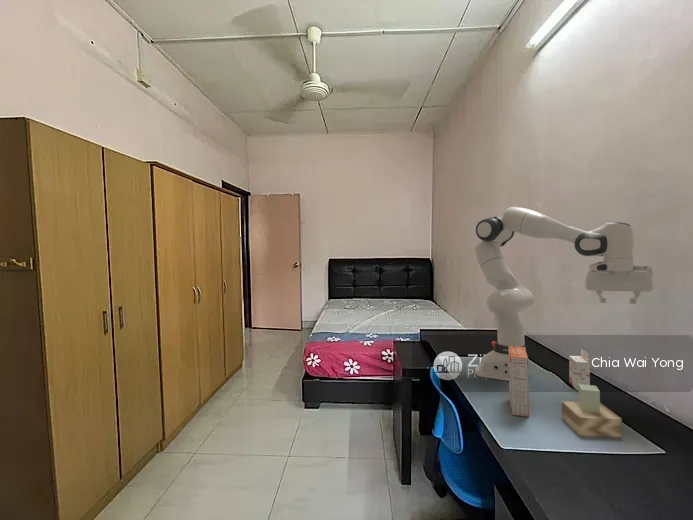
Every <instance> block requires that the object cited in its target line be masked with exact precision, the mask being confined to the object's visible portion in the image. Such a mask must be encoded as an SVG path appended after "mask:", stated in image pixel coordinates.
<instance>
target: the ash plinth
mask: <svg viewBox="0 0 693 520" xmlns="http://www.w3.org/2000/svg"><path fill="white" fill-rule="evenodd" d="M561 418H562V420H563V421H564V422H565V423H566V424H568V426H569V427H570V428H571V429H572V430H573V431H574V432H576V434H577V435H578V436H579V437H600V436H611V437H610V438H622V436H623V435H622V434H623V431H622V430H623V428H622V427H623V426H622V424H623V422H622V421H623V420H622V419H623V418H622V417H620V416H618V415H617V414H616V413H615V412H613V411H612V410H611V409H610V408H608V407H607V406H605V405H604V404H603V403H602V402H600V413H593V412H585V411H581V409H580V407H579V405H578V401H569V400H567V401H566V400H565V401H561Z"/></svg>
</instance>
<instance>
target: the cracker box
mask: <svg viewBox="0 0 693 520" xmlns="http://www.w3.org/2000/svg"><path fill="white" fill-rule="evenodd" d="M525 347H526V346H525ZM525 347H516V346H509V381H508V387H509V392H508V393H509V406H510V412H511V415H512V416H518V417H525V418H528V417H530V409H529V408H530V407H529V405H530V403H529V401H530V400H529V376H528V375H529V357H528V353H527V350H526V351H525Z"/></svg>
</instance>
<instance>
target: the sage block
mask: <svg viewBox="0 0 693 520" xmlns="http://www.w3.org/2000/svg"><path fill="white" fill-rule="evenodd" d="M577 391H578V393H577V395H578V396H577V400H578V401H577V402H578V405H579V407H580V409H581V411H585V412H593V413H600V403H601V400H600V399H601V392H600V389H599V387H597V385H591V384H590V385H584V384H578V390H577Z"/></svg>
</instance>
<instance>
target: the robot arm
mask: <svg viewBox="0 0 693 520" xmlns="http://www.w3.org/2000/svg"><path fill="white" fill-rule="evenodd" d="M515 233H517V234H519V235H520V234H521V235H523V236H526V237H530V238H536V239H557V240H561V241H562V240H563V241H566V242H568V243H573V244H574V249H575V251H576V252H577V253H578V254H579V255H582V256H585V257H589V258H591V257H603V260H602V261H598V262H595V263H591V264H589V265H588V269H589V271H587V274H586V276H585V285H584V286H585V287H584V288H585V289H586V290H587V291H591V292H592V291H593V292H594V291H595V293H596V294H597V296H598V298H599V303H601V304H606V302H607V301H606V300H607V299H606V297H603V296H602V294H603V292H633V294H634V295H633V297H632V298H631V297H630V298H629V303H630V304H633V305H636V304H637V300H638V299H639V297H641V292H643V293H646V292H651V291H652V290H653V289H654V284H653V279H652V277H653V272H654V271H653V269H652V267H649V266H648V265H634V255H633V249H634V231H633V227H632V226H631V224H629V223H627V222H619V221H607V222H605V223H604V224H603V225H601V226H599V227H597V228H594V229H592V230H586V229H582V228H578V227H574V226H572V225H569V224H565V223H563V222H560V221H558V220H557V219H554V218H552V217H550V216H548V215H546V214H543V213H541V212H539V211H538V210H537V211H536V210H533V209H529V208H525V207H520V206H510V207H508V208H506V209H505V211H504V212H503V214H502V216H500V217H499V216H493V217H487V218H483V219H482V220H480V221H479V222H477V224H476V226H475V234H476V236H477V238H478V239H480V240H481V241H479V242H477V244H476V245H475V246H474V252H475V256H476V259H477V262H478V264H479V267H480V269H481V272H482V273H483V275H484V278H485V279H486V280H485V281H486V282H487V283H488V284H490V285H491V286H493V288H494V289H496V290H495V292H494V291H493V292H492V293H491V294H489V295H488V297H487V301H486V304H487V308H488V309H489V311H490V312H491V313H492V314H493V316H494V319H495V321H496V322H495V323H496V327H497V328H496V329H497V330H496V331H497V341H495V340H493V341H492V342H491V346H492V350H491V351H489V352H487V353H486V354H485V355H483V356H482V357H481V359H480V362H479V364H478V365H477V366H476V367H475V368H474V373H475V375H476V376H478V377H481V378H487V379H494V380H499V381H508V382H509V346H516V347H525V351H526V352H527V350H526V349H527V347H526V344H525V326H524V325H523V324H522V323H521V321H520V317H519V312H523V311H526V310H527V309H529V308H530V307H532V305H533V303H534V295H533V293H532V291H530V290H529V289H528V288H526V287H525V286H524V285H522V284H521V282H520V281H519V280H518V279H517V278H516V277H515V275H514V274H513V272H512V271H511V269H510V267H509V265H508V264H507V261H506V259H505V258H504V255H503V254H502V252H501V248H500V247H503V246H505V245H506V244H507V242H510V241H511V239H513V237H514V236H515ZM528 377H529V374H528Z"/></svg>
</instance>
